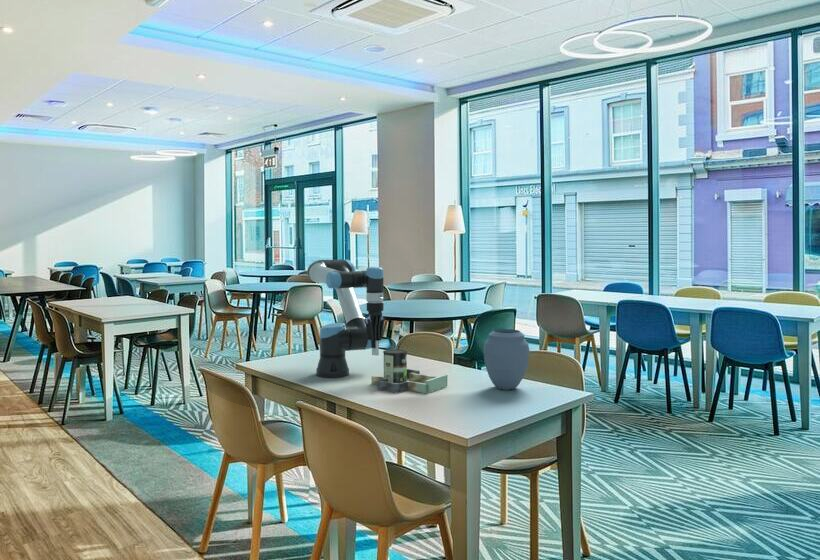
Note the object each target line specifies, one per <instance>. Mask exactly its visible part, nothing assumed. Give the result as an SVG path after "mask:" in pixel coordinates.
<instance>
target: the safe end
mask: <svg viewBox="0 0 820 560" xmlns="http://www.w3.org/2000/svg"><path fill="white" fill-rule="evenodd" d="M446 387H448V374H442V375H439V376H436V378H433V379H430V380H426V384H425V383H418V392H419V393H424V394H425V393H426V394H430V393H432V392H436V391H438V390H441V389H444V388H446Z"/></svg>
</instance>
